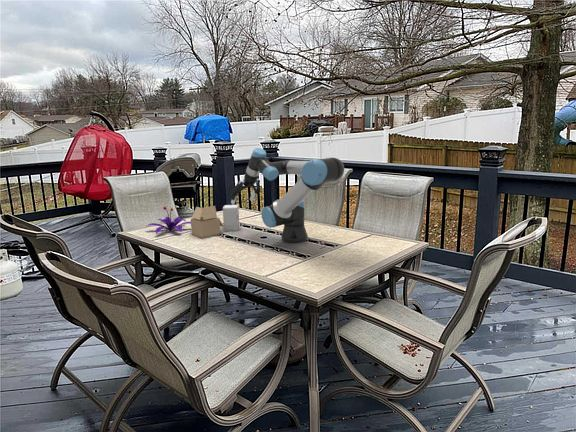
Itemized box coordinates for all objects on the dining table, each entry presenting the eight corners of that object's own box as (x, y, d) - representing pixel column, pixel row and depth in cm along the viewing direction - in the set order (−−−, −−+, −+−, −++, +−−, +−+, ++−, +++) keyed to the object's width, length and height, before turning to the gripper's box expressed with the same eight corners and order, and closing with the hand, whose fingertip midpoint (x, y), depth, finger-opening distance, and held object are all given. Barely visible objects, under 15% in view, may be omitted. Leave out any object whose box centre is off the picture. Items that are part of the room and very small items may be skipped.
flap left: (200, 220, 247) (204, 209, 248) (199, 219, 247) (203, 208, 248) (192, 217, 254) (197, 206, 255) (191, 217, 254) (196, 206, 254)
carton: (226, 233, 259) (225, 217, 256) (202, 238, 248) (201, 222, 246) (211, 228, 271) (210, 212, 269) (188, 233, 260) (187, 217, 258)
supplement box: (237, 231, 263) (236, 207, 260) (223, 231, 263) (222, 207, 260) (239, 227, 272) (238, 204, 268) (226, 227, 272) (224, 204, 269)
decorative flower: (184, 222, 288) (182, 200, 284) (201, 232, 262) (200, 208, 259) (142, 229, 273) (140, 206, 269) (156, 240, 247) (154, 215, 244)
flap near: (217, 217, 252) (215, 205, 252) (203, 219, 247) (201, 208, 246) (216, 217, 253) (214, 205, 252) (203, 219, 247) (201, 208, 247)
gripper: (266, 167, 249) (255, 195, 261) (230, 171, 233) (221, 200, 245) (273, 175, 245) (262, 203, 257) (237, 179, 229) (227, 209, 241)
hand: (242, 202), depth 251 cm, fingers open, 13 cm apart
